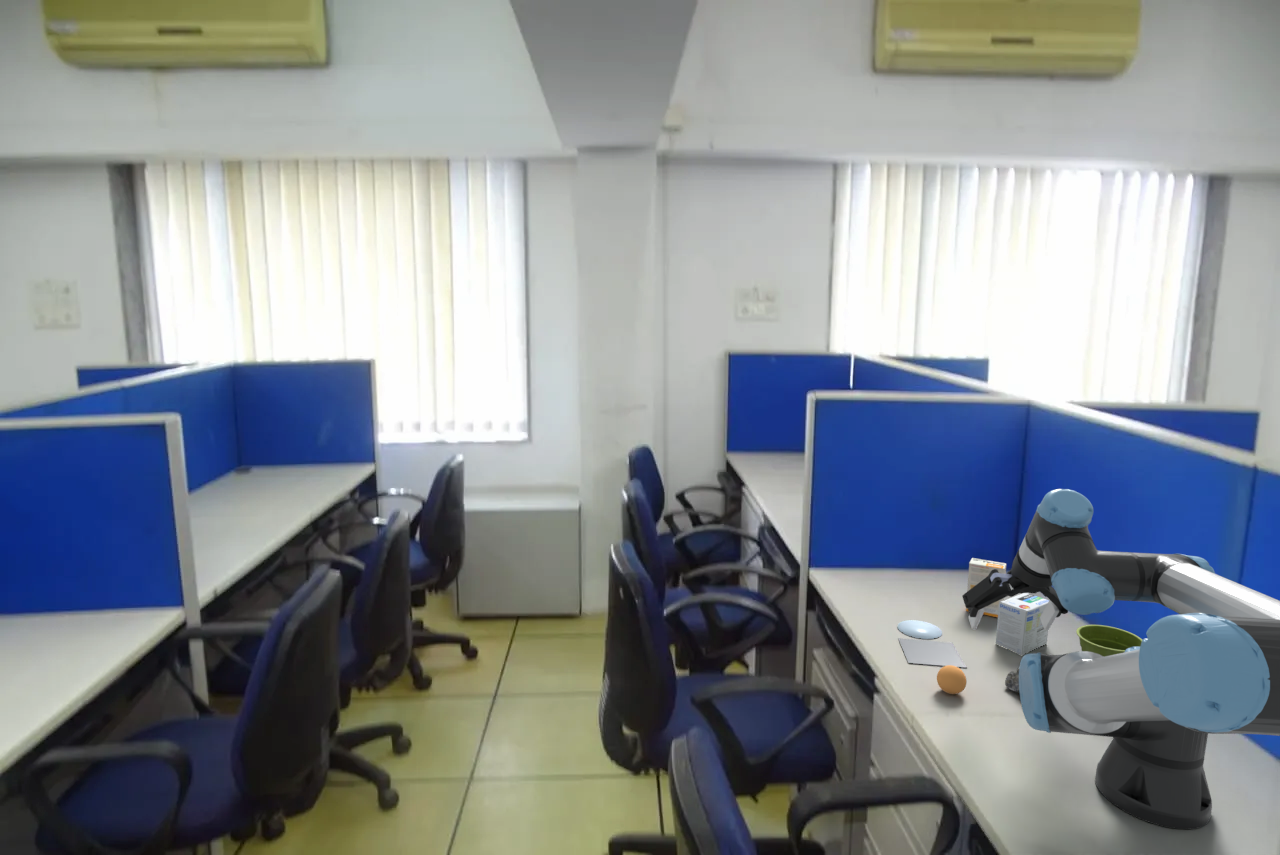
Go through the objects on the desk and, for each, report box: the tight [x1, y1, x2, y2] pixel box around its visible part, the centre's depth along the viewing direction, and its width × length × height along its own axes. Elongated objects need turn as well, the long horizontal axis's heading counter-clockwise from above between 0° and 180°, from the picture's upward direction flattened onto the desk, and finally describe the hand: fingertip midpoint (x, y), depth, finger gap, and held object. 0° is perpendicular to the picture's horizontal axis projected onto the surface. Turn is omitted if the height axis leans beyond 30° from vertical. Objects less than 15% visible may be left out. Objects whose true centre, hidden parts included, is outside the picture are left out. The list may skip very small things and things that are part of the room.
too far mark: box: [897, 619, 943, 640], centre depth 176 cm, size 10×10×1 cm
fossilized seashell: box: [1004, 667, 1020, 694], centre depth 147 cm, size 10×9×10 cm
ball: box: [936, 665, 967, 695], centre depth 147 cm, size 6×6×6 cm
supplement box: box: [965, 557, 1007, 618], centre depth 185 cm, size 8×5×13 cm, turn 58°
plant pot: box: [1075, 624, 1143, 657], centre depth 149 cm, size 12×12×11 cm
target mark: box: [898, 637, 968, 669], centre depth 164 cm, size 12×12×1 cm
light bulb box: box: [995, 593, 1050, 656], centre depth 168 cm, size 11×7×11 cm, turn 123°
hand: (1007, 623), depth 144 cm, fingers open, 13 cm apart
